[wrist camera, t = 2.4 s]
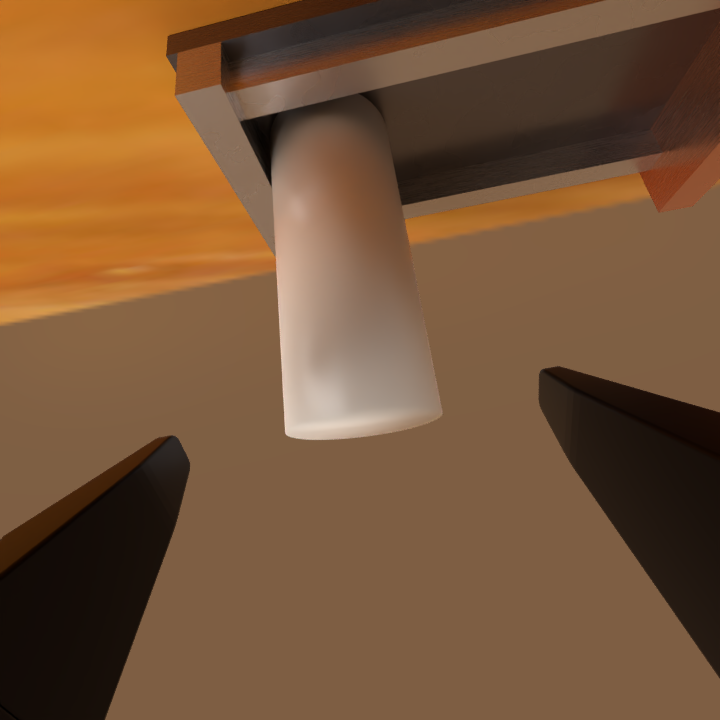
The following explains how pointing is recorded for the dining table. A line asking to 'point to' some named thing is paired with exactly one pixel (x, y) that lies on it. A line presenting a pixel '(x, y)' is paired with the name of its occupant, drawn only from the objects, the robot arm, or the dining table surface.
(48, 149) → the dining table surface
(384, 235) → the white cylinder
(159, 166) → the dining table surface
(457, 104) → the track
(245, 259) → the dining table surface
